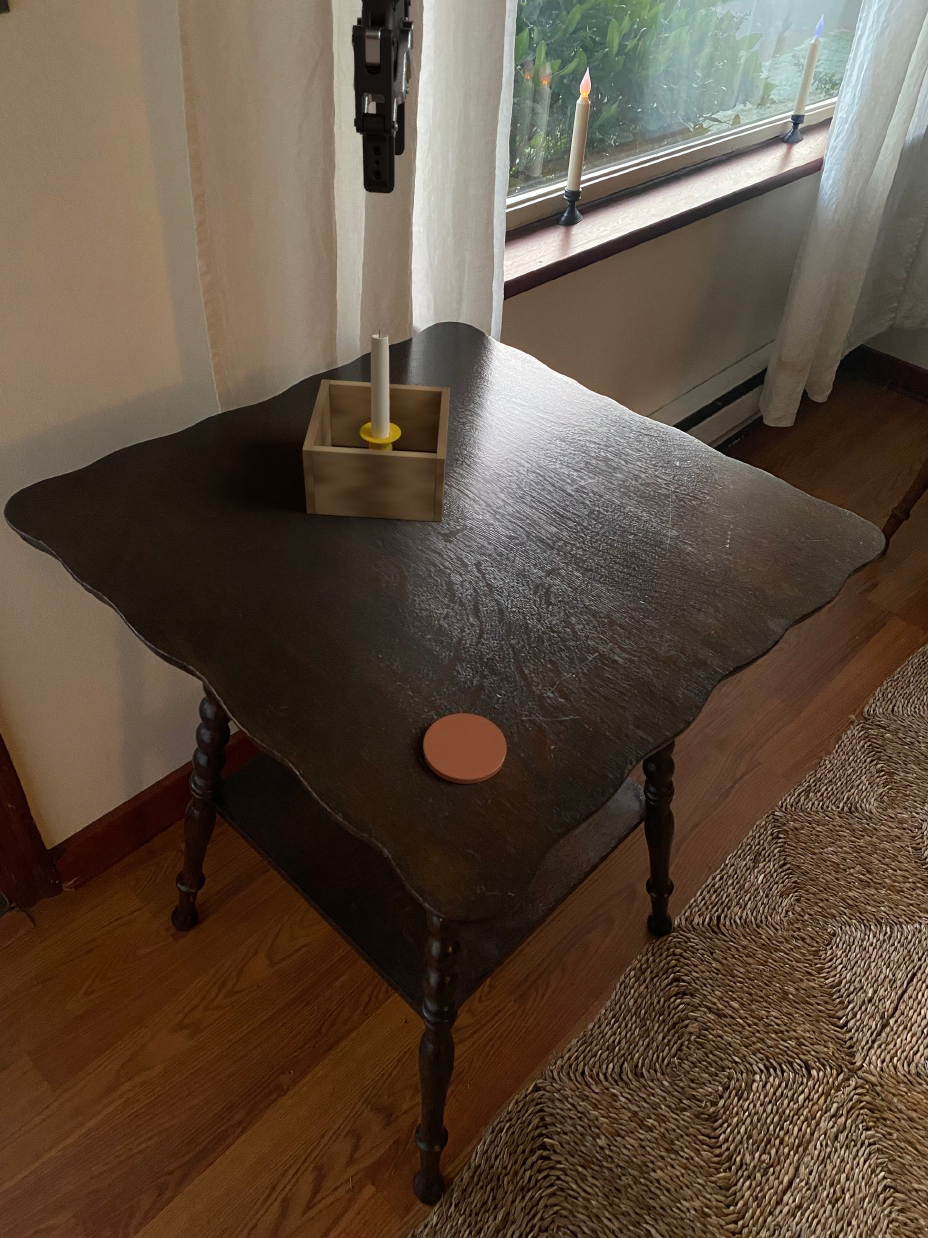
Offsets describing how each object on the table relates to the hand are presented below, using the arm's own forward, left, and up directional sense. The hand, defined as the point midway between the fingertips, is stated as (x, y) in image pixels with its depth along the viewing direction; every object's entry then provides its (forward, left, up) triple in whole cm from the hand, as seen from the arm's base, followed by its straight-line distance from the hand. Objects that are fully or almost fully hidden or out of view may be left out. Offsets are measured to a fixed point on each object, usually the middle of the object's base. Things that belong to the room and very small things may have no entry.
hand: (385, 171), depth 68 cm
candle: (-1, +1, -29) cm, 29 cm away
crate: (-1, +1, -29) cm, 29 cm away
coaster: (+8, -32, -29) cm, 44 cm away
